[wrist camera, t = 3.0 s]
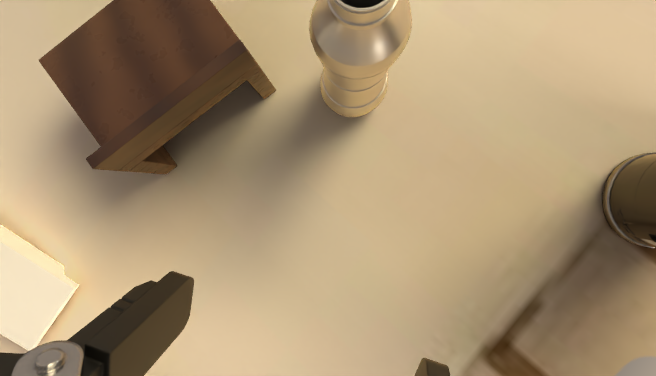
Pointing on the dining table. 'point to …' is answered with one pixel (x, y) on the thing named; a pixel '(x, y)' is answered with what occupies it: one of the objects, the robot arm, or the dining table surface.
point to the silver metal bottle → (358, 49)
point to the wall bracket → (29, 290)
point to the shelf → (149, 76)
